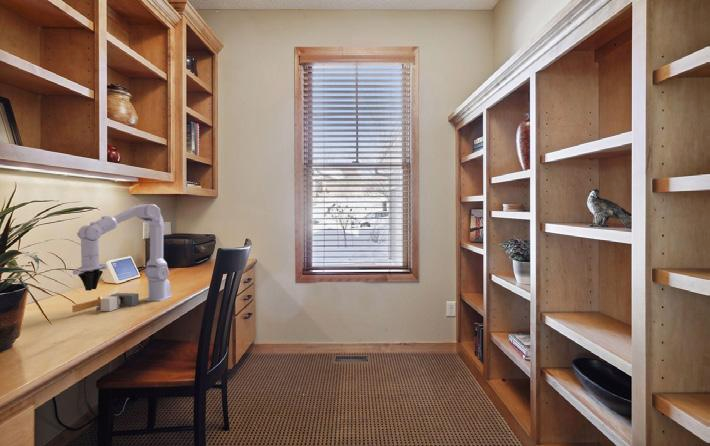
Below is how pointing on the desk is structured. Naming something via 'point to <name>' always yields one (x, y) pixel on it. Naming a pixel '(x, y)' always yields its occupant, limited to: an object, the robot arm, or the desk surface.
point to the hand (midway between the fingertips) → (91, 289)
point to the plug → (110, 303)
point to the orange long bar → (86, 305)
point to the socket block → (126, 299)
